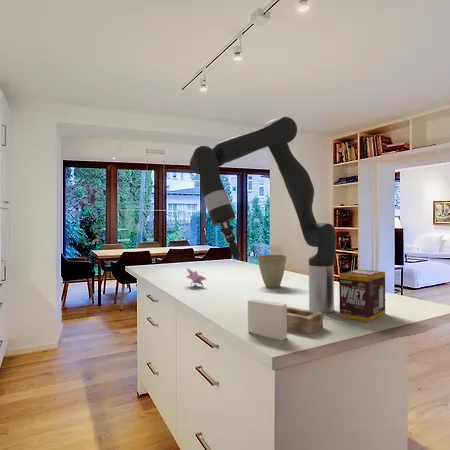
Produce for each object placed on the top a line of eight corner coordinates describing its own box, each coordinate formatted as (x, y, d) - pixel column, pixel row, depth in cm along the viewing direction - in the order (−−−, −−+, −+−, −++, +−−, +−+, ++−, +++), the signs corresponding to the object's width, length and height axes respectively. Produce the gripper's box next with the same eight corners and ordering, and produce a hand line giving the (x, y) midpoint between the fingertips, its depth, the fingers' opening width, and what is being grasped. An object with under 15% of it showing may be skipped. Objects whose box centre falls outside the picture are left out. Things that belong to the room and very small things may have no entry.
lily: (207, 290, 184) (211, 273, 188) (186, 283, 180) (191, 265, 184) (197, 294, 194) (201, 277, 198) (177, 287, 189) (182, 270, 194)
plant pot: (285, 283, 194) (285, 254, 194) (287, 289, 179) (287, 257, 179) (257, 283, 196) (257, 254, 195) (257, 289, 181) (257, 257, 181)
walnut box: (255, 322, 122) (255, 308, 121) (270, 317, 128) (270, 303, 128) (309, 334, 109) (309, 318, 109) (322, 327, 116) (322, 312, 115)
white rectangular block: (248, 332, 112) (247, 300, 111) (253, 330, 114) (253, 298, 114) (281, 340, 104) (281, 306, 104) (286, 337, 106) (286, 304, 106)
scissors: (319, 310, 137) (361, 322, 119) (319, 312, 137) (361, 325, 119) (297, 313, 132) (338, 327, 114) (297, 316, 132) (338, 330, 114)
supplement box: (338, 317, 128) (338, 273, 128) (358, 309, 139) (358, 268, 138) (367, 322, 120) (367, 276, 120) (385, 313, 131) (385, 271, 131)
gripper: (229, 198, 104) (248, 251, 101) (231, 208, 118) (248, 255, 115) (205, 207, 104) (223, 260, 101) (210, 216, 118) (226, 262, 115)
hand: (237, 257), depth 108 cm, fingers open, 8 cm apart
